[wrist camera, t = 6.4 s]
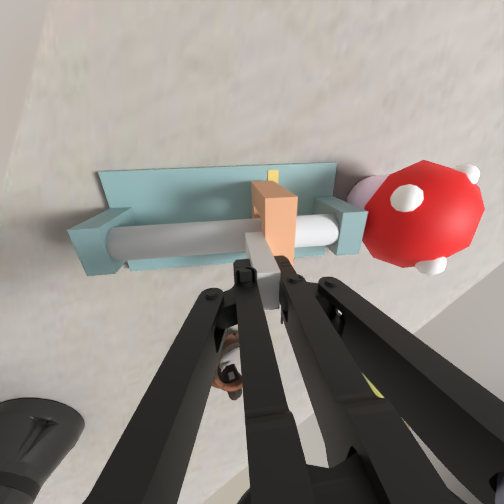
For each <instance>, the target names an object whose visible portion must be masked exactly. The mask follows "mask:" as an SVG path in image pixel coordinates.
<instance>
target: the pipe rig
mask: <svg viewBox="0 0 504 504" xmlns="http://www.w3.org/2000/svg"><path fill="white" fill-rule="evenodd" d="M336 168H337V163H336V162H325V163H300V164H274V165H248V166H223V167H197V168H171V169H145V170H120V171H101V172H98V173H99V177H100V180H101V183H102V186H103V189H104V192H105V195H106V198H107V201H108V204H109V207H110V208H109V209H107V210H105V211H103V212H102V213H100V214H98V215H96V216H94V217H92V218H90V219H88V220H86V221H84V222H82V223H80V224H78V225H76V226H74V227H72V228H70V229H68V230H67V232H68V234H69V236H70V239H71V241H72V243H73V245H74V248H75V250H76V252H77V254H78V257H79V259H80V261H81V264H82V266H83V268H84V270H85V273H86V275H87V276H94V275H106V274H115V273H116V272H117V271H118V270H119V269H120V268H121V266H122V265H123V264H124V263H125V262H126V261H127V262H128V265H129V268H130V271H138V270H150V269H163V268H175V267H187V266H200V265H212V264H224V263H234V262H235V260H237V259H246V244H245V233H248V232H261V218H254V219H252V194H251V181H272V180H273V181H274V182H276V183H277V184H279V185H281V186H282V187H284V188H285V189H287V190H288V191H290V192H291V193H293V194H295V195H296V196H298V203H297V218H296V233H295V248H294V258H298V257H311V256H323V255H325V247H326V246H327V247H328V248H329V249H330V250H331V251H332V252H333V253H334V254H335V255H336V256H339V255H351V254H359V251H360V247H361V242H362V237H363V233H364V228H365V224H366V219H367V215H368V211H366V210H364V209H361V208H359V207H357V206H354V205H352V204H350V203H347V202H345V201H343V200H340V199H338V198H336V197H333V189H334V182H335V175H336Z"/></svg>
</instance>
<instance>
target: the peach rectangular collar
mask: <svg viewBox="0 0 504 504" xmlns="http://www.w3.org/2000/svg"><path fill="white" fill-rule="evenodd" d="M251 194H252V219H254V218H261V232H263V234H264V236H265V238H266V241H267V243H268V245H269V247H270V249H271V252H272V254H273V256H280V255H283V256H285V257H287V258H288V260H289V261H290V263H291V265H292V267H293V263H294V248H295V233H296V218H297V203H298V196H296V195H295V194H293V193H291V192H290V191H288V190H287V189H285V188H284V187H282V186H281V185H279V184H277V183H276V182H274V181H273V180H272V181H251Z"/></svg>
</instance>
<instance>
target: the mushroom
mask: <svg viewBox="0 0 504 504" xmlns="http://www.w3.org/2000/svg"><path fill="white" fill-rule="evenodd" d="M479 175H480V172H479V169H478V168H477V167H476V166H472V165H469V164H464V165H460V166H456V167H455V168H453V169H452V168H449V167H445V166H442V165H439V164H435V163H432V162H429V161H425V160H422V161H420V162H418V163H415V164H413V165H411V166H409V167H406V168H404V169H402V170H400V171H397V172H395V173H393V174H388V175H378V176H370V177H368V178H365V179H363V180H361V181H360V182H359V183H357V184H356V185H355V186H354V187H353V188H352V190H351V191H350V193H349V195H348V196H347V200H346V202H347V203H350V204H352V205H354V206H357V207H359V208H361V209H364V210H366V211H368V215H367V219H366V224H365V228H364V233H363V237H362V241H363V243H364V244H365V246H366V247H367V249H368V250H369V252H370V253H371V255H372V256H373V257H374V258H377V259H379V260H382V261H385V262H388V263H391V264H394V265H397V266H399V267H402V268H405V267H414V266H415V267H416V268H417V269H418V271H419V272H421V273H423V274H426V275H435V274H438V273H440V272H442V271H444V269H445V267H446V258H447V257H449V256H451V255H453V254H455V253H457V252H459V251H461V250H463V249H465V248H467V247H469V246H470V244H471V241H472V239H473V236H474V234H475V232H476V229H477V227H478V224H479V222H480V219H481V217H482V215H483V212H484V210H485V208H484V204H483V200H482V196H481V192H480V188H479V187H478V186H477V185H476V184H475V183H477V181H478V178H479Z"/></svg>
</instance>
